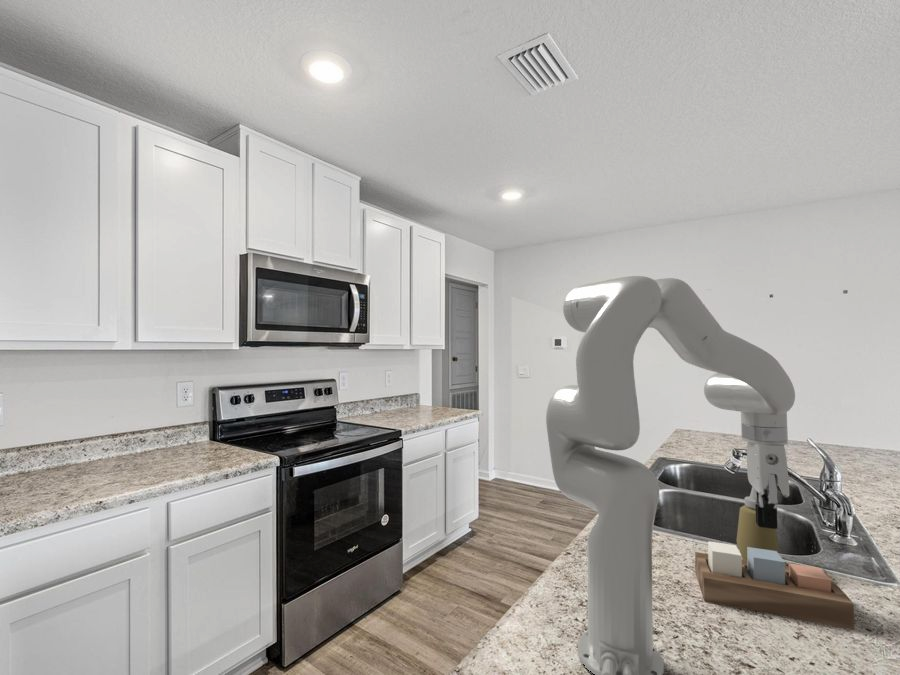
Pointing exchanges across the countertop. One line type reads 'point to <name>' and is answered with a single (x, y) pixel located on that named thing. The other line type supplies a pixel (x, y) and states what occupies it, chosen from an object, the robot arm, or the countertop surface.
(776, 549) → the squeeze bottle
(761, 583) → the wooden compartment tray
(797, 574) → the peach cube
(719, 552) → the key cream
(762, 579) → the key slate
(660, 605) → the countertop surface
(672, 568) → the countertop surface
